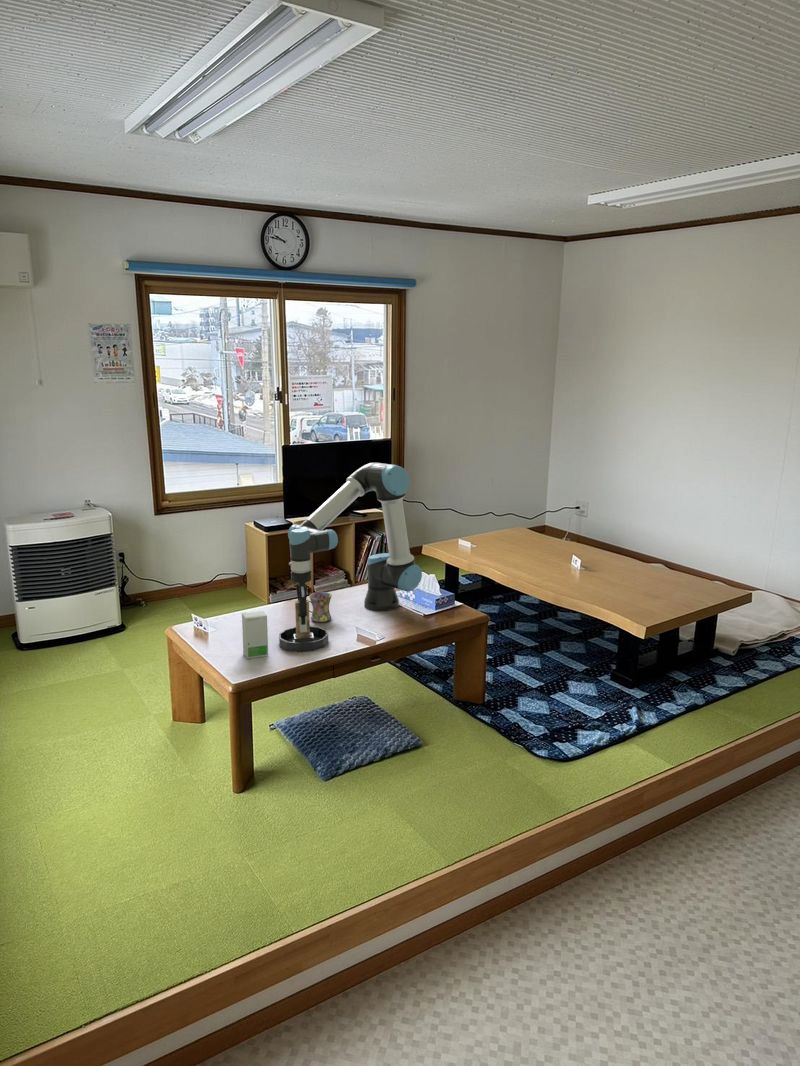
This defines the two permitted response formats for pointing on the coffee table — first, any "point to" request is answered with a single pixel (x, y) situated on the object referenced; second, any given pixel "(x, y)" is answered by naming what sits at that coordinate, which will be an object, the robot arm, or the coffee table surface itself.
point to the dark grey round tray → (318, 643)
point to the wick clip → (304, 639)
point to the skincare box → (255, 634)
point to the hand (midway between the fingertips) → (303, 630)
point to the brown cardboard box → (298, 634)
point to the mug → (320, 606)
